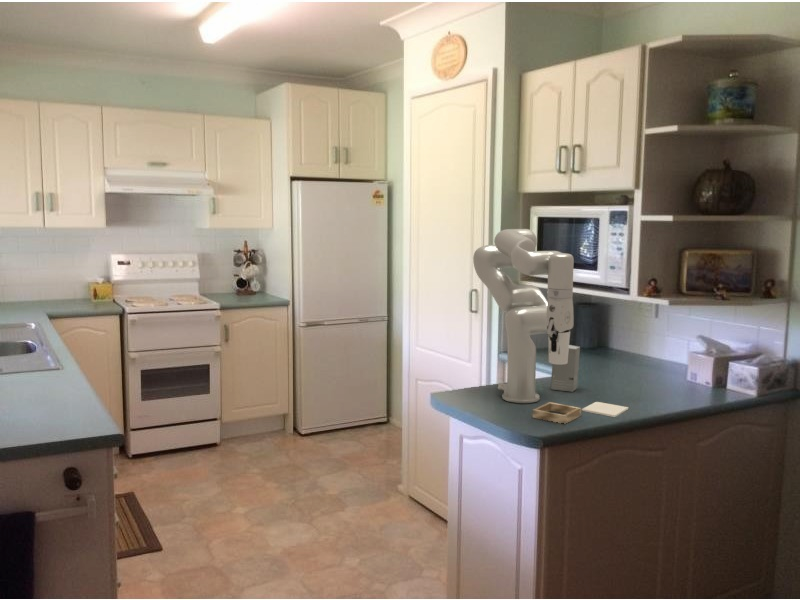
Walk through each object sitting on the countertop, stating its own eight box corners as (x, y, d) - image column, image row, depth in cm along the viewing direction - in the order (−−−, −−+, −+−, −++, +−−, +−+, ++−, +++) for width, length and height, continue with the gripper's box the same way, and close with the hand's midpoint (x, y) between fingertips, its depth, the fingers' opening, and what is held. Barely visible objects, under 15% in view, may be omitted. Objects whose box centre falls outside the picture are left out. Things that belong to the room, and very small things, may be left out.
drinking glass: (565, 359, 226) (567, 328, 224) (571, 364, 219) (572, 332, 218) (544, 359, 226) (545, 328, 224) (550, 365, 219) (551, 332, 218)
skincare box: (550, 389, 256) (551, 346, 254) (556, 385, 262) (557, 342, 260) (574, 392, 252) (575, 348, 250) (579, 387, 258) (580, 344, 256)
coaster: (581, 410, 230) (581, 409, 230) (596, 403, 239) (596, 401, 239) (614, 417, 224) (614, 415, 223) (628, 409, 232) (628, 407, 232)
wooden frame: (532, 417, 224) (532, 409, 223) (549, 409, 232) (549, 402, 232) (565, 424, 217) (565, 416, 216) (580, 415, 225) (581, 408, 225)
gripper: (558, 298, 210) (556, 359, 213) (583, 291, 223) (581, 349, 226) (535, 295, 215) (534, 355, 218) (561, 289, 228) (559, 346, 231)
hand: (558, 351), depth 222 cm, fingers closed on drinking glass, 3 cm apart
